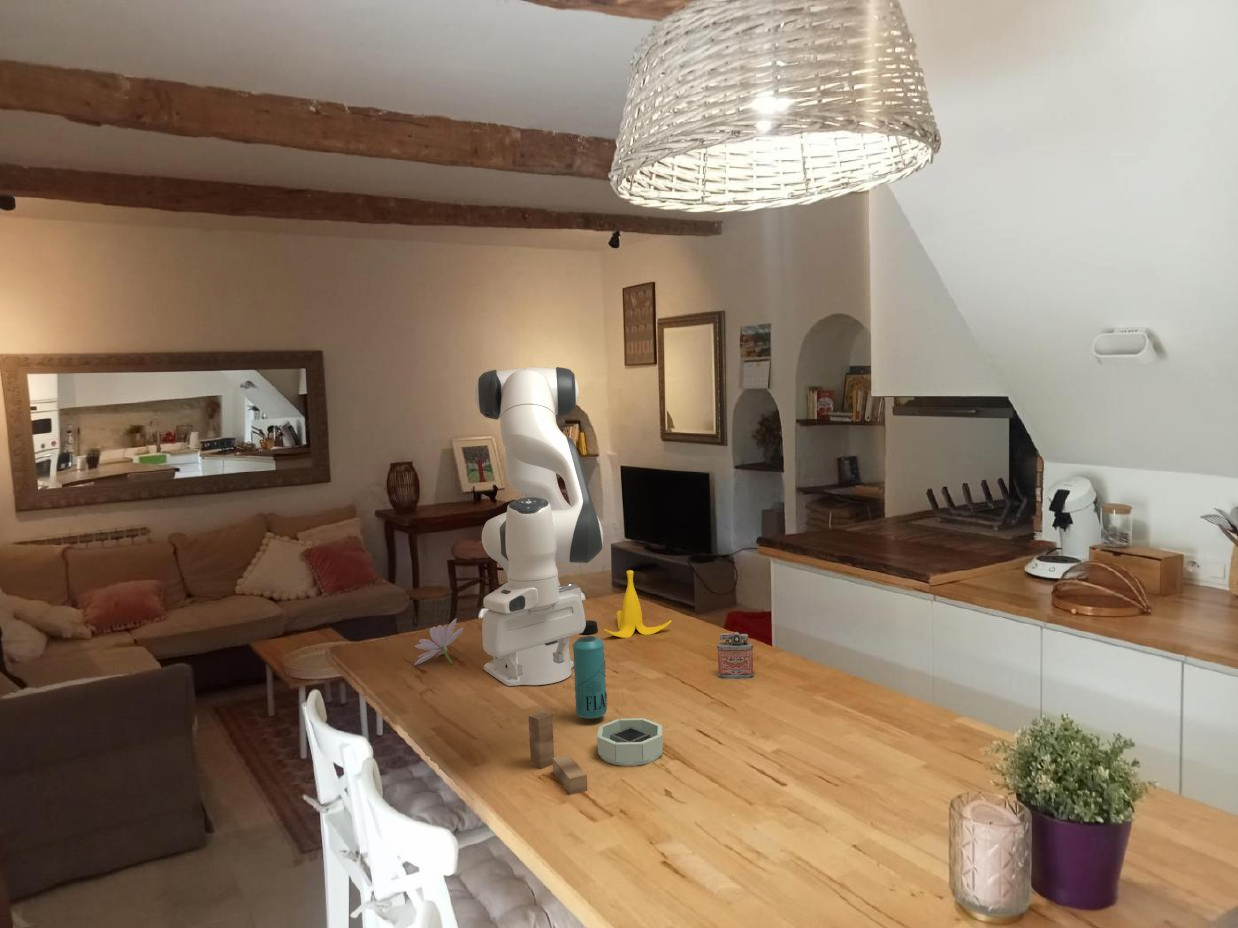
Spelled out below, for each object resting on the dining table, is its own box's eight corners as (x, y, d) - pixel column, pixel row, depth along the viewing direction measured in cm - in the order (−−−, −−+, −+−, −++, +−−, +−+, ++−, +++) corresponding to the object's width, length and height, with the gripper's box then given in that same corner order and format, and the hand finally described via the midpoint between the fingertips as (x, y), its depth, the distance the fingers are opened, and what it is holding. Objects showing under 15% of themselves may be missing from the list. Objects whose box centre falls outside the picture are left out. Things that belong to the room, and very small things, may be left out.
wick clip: (610, 748, 163) (609, 734, 162) (631, 739, 166) (631, 726, 166) (629, 756, 159) (629, 742, 158) (650, 747, 162) (650, 734, 162)
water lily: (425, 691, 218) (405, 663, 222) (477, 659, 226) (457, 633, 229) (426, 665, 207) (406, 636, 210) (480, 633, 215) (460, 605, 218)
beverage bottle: (584, 728, 174) (579, 628, 172) (570, 717, 180) (565, 620, 178) (613, 721, 177) (609, 623, 175) (599, 710, 183) (594, 615, 181)
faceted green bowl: (586, 752, 163) (585, 731, 162) (632, 733, 171) (631, 713, 170) (628, 772, 154) (627, 749, 154) (676, 751, 162) (675, 729, 161)
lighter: (753, 673, 201) (752, 630, 200) (754, 679, 198) (753, 635, 197) (717, 674, 202) (716, 631, 201) (717, 679, 198) (716, 635, 197)
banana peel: (620, 621, 248) (617, 562, 246) (674, 632, 236) (672, 570, 234) (578, 636, 236) (576, 574, 234) (633, 648, 223) (631, 583, 222)
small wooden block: (553, 774, 155) (552, 757, 155) (569, 770, 156) (568, 754, 156) (570, 795, 147) (569, 778, 147) (587, 791, 148) (586, 774, 148)
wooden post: (531, 763, 159) (528, 715, 158) (544, 758, 161) (541, 710, 160) (541, 768, 157) (538, 719, 156) (554, 763, 159) (552, 714, 158)
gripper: (569, 578, 165) (572, 651, 166) (475, 600, 152) (480, 679, 153) (590, 583, 160) (594, 657, 162) (495, 606, 147) (501, 687, 148)
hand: (538, 668), depth 157 cm, fingers open, 8 cm apart
